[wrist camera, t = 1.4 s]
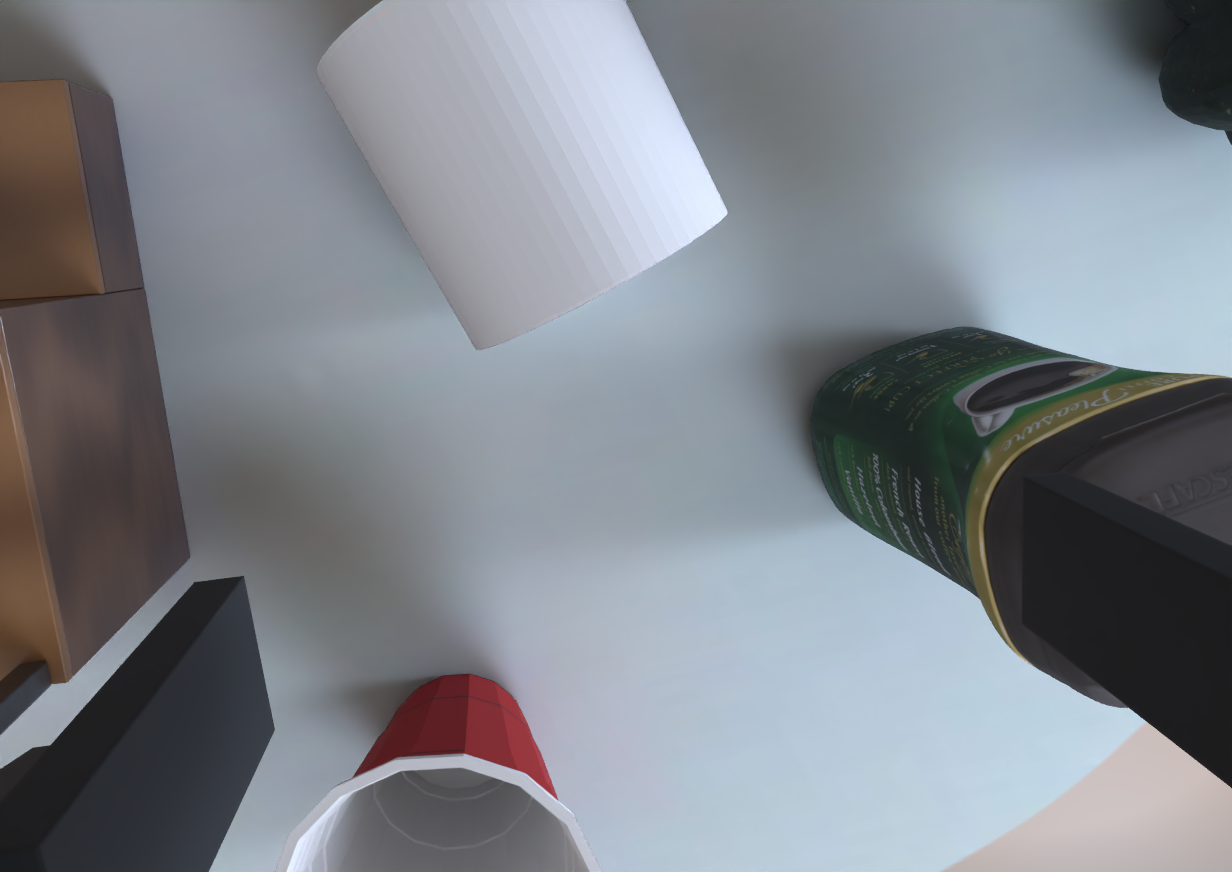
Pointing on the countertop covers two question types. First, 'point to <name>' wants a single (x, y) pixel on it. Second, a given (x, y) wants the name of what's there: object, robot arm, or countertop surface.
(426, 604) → the countertop surface
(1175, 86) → the squash
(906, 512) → the coffee jar
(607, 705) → the countertop surface
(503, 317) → the toilet paper
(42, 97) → the brown wooden stepped block
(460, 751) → the plastic cup
